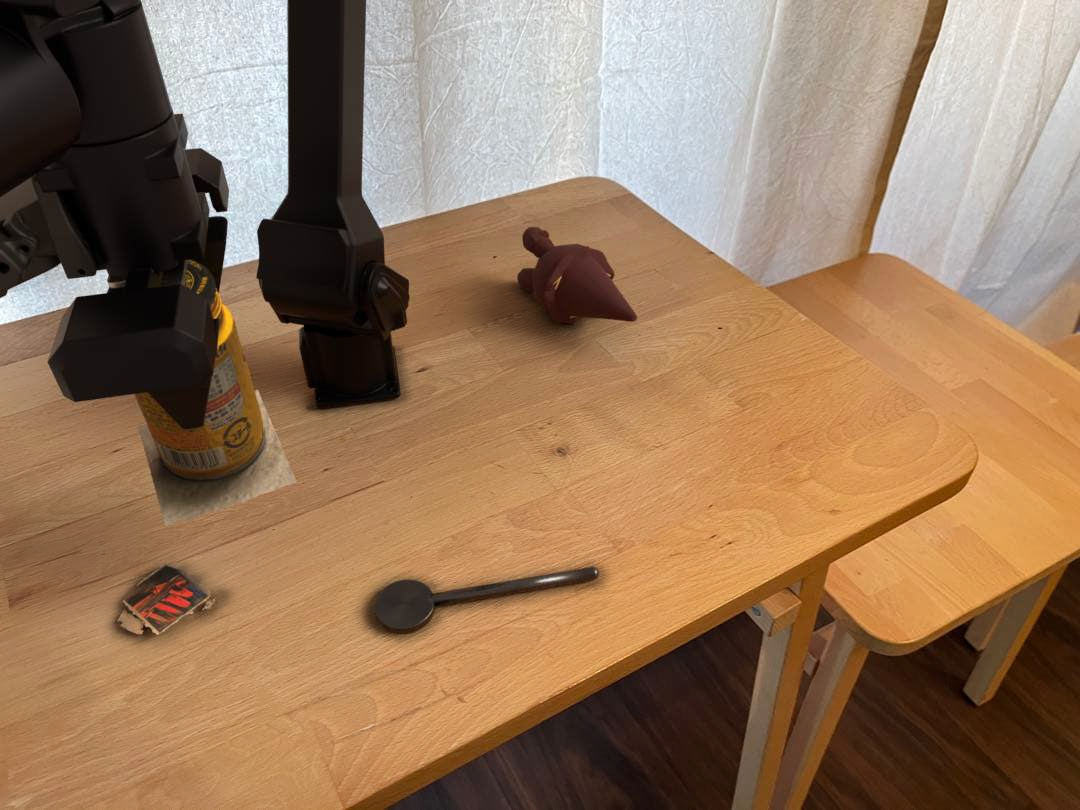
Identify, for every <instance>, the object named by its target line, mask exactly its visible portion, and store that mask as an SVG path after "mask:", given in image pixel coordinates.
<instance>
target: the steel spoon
mask: <svg viewBox="0 0 1080 810" xmlns="http://www.w3.org/2000/svg"><path fill="white" fill-rule="evenodd" d="M599 576H600V571H599V569H598V568H597V567H595V566H589V567H588V566H587V567H582V568H576V569H571V570H565V571H560V572H558V571H557V572H553V573H552V572H551V573H547V574H541V575H535V576H529V577H522V578H517V579H510V580H505V581H499V582H494V583H493V582H492V583H486V584H482V585H481V584H480V585H476V586H475V585H474V586H469V587H463V588H457V589H452V590H446V591H439V592H434V593H433V591H432V589H431V587H429V586H428V585H427V584H425V583H423V582H422V581H419V580H415V579H400V580H397V581H394V582H392V583H390V584H388V585H387V586H385V587H384V588H383V589H382V590H381V591H380V592H379V593H378V595H377V597H376V599H375V602H374V612H375V617H376V620H377V622H378V624H379V625H380V626H381V627H382V628H383V629H384V630H386V631H388V632H390V633H394V634H400V635H403V634H412V633H414V632H417V631H420V630H421V629H422V628H424V627H425V626H426V625H427V624H429V623H430V621H431V620H432V619H433V617H434V615H435V612H436V607H442V606H448V605H449V606H450V605H453V604H454V605H455V604H460V603H466V602H472V601H476V600H477V601H478V600H484V599H489V598H494V597H495V598H496V597H501V596H506V595H512V594H519V593H526V592H529V591H530V592H531V591H537V590H542V589H548V588H553V587H559V586H565V585H571V584H577V583H582V582H583V583H584V582H589V581H594V580H595V581H596V580H597V579H598V578H599Z"/></svg>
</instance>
